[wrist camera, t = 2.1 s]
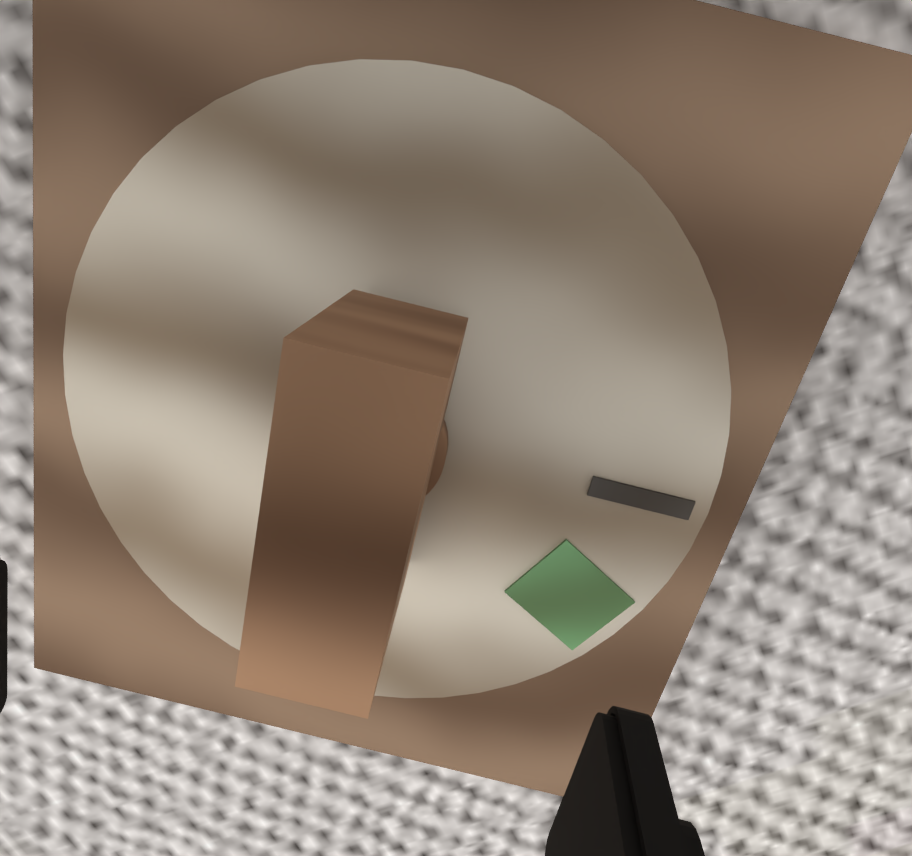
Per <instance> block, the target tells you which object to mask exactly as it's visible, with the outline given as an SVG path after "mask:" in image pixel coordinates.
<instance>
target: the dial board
mask: <svg viewBox="0 0 912 856" xmlns="http://www.w3.org/2000/svg"><path fill="white" fill-rule="evenodd" d="M911 132H912V55H910V54H906V53H902V52H898V51H894V50H890V49H886V48H882V47H878V46H874V45H870V44H866V43H862V42H858V41H854V40H850V39H846V38H842V37H839V36H835V35H831V34H827V33H823V32H819V31H815V30H811V29H807V28H803V27H799V26H795V25H791V24H787V23H783V22H779V21H775V20H771V19H768V18H764V17H760V16H756V15H752V14H748V13H744V12H740V11H736V10H732V9H728V8H724V7H720V6H716V5H712V4H708V3H704V2H700V1H696V0H33V340H34V668H37V669H41V670H45V671H50V672H54V673H58V674H62V675H66V676H70V677H74V678H78V679H82V680H87V681H91V682H95V683H99V684H103V685H107V686H111V687H115V688H119V689H124V690H128V691H132V692H136V693H140V694H144V695H148V696H152V697H156V698H160V699H165V700H169V701H173V702H177V703H181V704H185V705H189V706H193V707H197V708H202V709H206V710H210V711H214V712H218V713H222V714H226V715H230V716H234V717H239V718H243V719H247V720H251V721H255V722H259V723H263V724H267V725H271V726H276V727H280V728H284V729H288V730H292V731H296V732H300V733H304V734H308V735H313V736H317V737H321V738H325V739H329V740H333V741H337V742H341V743H345V744H350V745H354V746H358V747H362V748H366V749H370V750H374V751H378V752H382V753H387V754H391V755H395V756H399V757H403V758H407V759H411V760H415V761H419V762H424V763H428V764H432V765H436V766H440V767H444V768H448V769H452V770H456V771H461V772H465V773H469V774H473V775H477V776H481V777H485V778H489V779H493V780H498V781H502V782H506V783H510V784H514V785H518V786H522V787H526V788H530V789H535V790H539V791H543V792H547V793H551V794H555V795H559V796H564V794H565V791H566V789H567V786H568V784H569V781H570V778H571V776H572V773H573V771H574V768H575V766H576V763H577V761H578V758H579V755H580V753H581V750H582V748H583V745H584V743H585V740H586V737H587V735H588V732H589V730H590V727H591V725H592V722H593V719H594V717H595V715H596V714H597V713H598V712H600V713H604V714H607V712H608V710H609V709H610V708H611V707H612V706H617V707H621V708H625V709H629V710H633V711H637V712H641V713H645V714H648V715H649V716H651V717H652V715H653V712H654V710H655V708H656V706H657V703H658V701H659V699H660V697H661V694H662V692H663V690H664V688H665V685H666V683H667V681H668V679H669V676H670V674H671V672H672V670H673V667H674V665H675V663H676V661H677V658H678V656H679V654H680V652H681V649H682V647H683V645H684V643H685V640H686V638H687V636H688V634H689V631H690V629H691V627H692V625H693V622H694V620H695V618H696V616H697V613H698V611H699V609H700V607H701V604H702V602H703V600H704V598H705V595H706V593H707V591H708V589H709V586H710V584H711V582H712V580H713V577H714V575H715V573H716V571H717V568H718V566H719V564H720V562H721V559H722V557H723V555H724V553H725V550H726V548H727V546H728V544H729V541H730V539H731V537H732V535H733V532H734V530H735V528H736V526H737V524H738V521H739V519H740V517H741V515H742V512H743V510H744V508H745V506H746V503H747V501H748V499H749V497H750V494H751V492H752V490H753V488H754V485H755V483H756V481H757V479H758V476H759V474H760V472H761V470H762V467H763V465H764V463H765V461H766V458H767V456H768V454H769V452H770V449H771V447H772V445H773V443H774V440H775V438H776V436H777V434H778V431H779V429H780V427H781V425H782V422H783V420H784V418H785V416H786V413H787V411H788V409H789V407H790V404H791V402H792V400H793V398H794V395H795V393H796V391H797V389H798V386H799V384H800V382H801V380H802V377H803V375H804V373H805V371H806V368H807V366H808V364H809V362H810V359H811V357H812V355H813V353H814V350H815V348H816V346H817V344H818V341H819V339H820V337H821V335H822V332H823V330H824V328H825V326H826V323H827V321H828V319H829V317H830V314H831V312H832V310H833V308H834V305H835V303H836V301H837V299H838V296H839V294H840V292H841V290H842V287H843V285H844V283H845V281H846V278H847V276H848V274H849V272H850V269H851V267H852V265H853V263H854V261H855V258H856V256H857V254H858V252H859V249H860V247H861V245H862V243H863V240H864V238H865V236H866V234H867V231H868V229H869V227H870V225H871V222H872V220H873V218H874V216H875V213H876V211H877V209H878V207H879V204H880V202H881V200H882V198H883V195H884V193H885V191H886V189H887V186H888V184H889V182H890V180H891V177H892V175H893V173H894V171H895V168H896V166H897V164H898V162H899V159H900V157H901V155H902V153H903V150H904V148H905V146H906V144H907V141H908V139H909V137H910V135H911ZM353 289H355V290H359V291H363V292H367V293H371V294H375V295H379V296H383V297H387V298H391V299H395V300H399V301H403V302H407V303H411V304H415V305H419V306H423V307H427V308H431V309H435V310H439V311H443V312H447V313H451V314H455V315H459V316H463V317H467V318H468V323H467V327H466V331H465V335H464V339H463V343H462V347H461V351H460V356H459V360H458V364H457V368H456V372H455V376H454V380H453V384H452V389H451V393H450V397H449V401H448V405H447V409H446V413H445V417H444V420H445V422H446V426H447V430H448V450H447V455H446V460H445V464H444V468H443V471H442V474H441V476H440V478H439V480H438V482H437V483H436V485H435V486H434V488H433V489H432V490H431V491H430V492H429V493H428V494H427V495H426V496H425V500H424V504H423V508H422V512H421V517H420V521H419V525H418V529H417V533H416V537H415V541H414V545H413V550H412V554H411V558H410V562H409V566H408V570H407V574H406V578H405V582H404V586H403V590H402V593H401V597H400V601H399V605H398V608H397V612H396V616H395V620H394V623H393V627H392V631H391V635H390V638H389V642H388V646H387V649H386V653H385V657H384V661H383V664H382V668H381V672H380V676H379V679H378V683H377V687H376V691H375V694H374V698H373V702H372V706H371V709H370V713H369V717H368V719H366V718H362V717H358V716H354V715H349V714H345V713H341V712H337V711H333V710H329V709H325V708H321V707H317V706H312V705H308V704H304V703H300V702H296V701H292V700H288V699H284V698H280V697H276V696H271V695H267V694H263V693H259V692H255V691H251V690H247V689H243V688H239V687H235V681H236V674H237V667H238V659H239V652H240V645H241V638H242V631H243V624H244V616H245V609H246V602H247V595H248V588H249V581H250V574H251V566H252V559H253V552H254V545H255V538H256V531H257V523H258V516H259V509H260V502H261V495H262V488H263V480H264V473H265V466H266V459H267V452H268V445H269V438H270V430H271V423H272V416H273V409H274V402H275V395H276V387H277V380H278V373H279V366H280V359H281V352H282V344H283V338H284V337H285V336H287V335H288V334H290V333H291V332H292V331H294V330H295V329H297V328H298V327H300V326H301V325H303V324H304V323H305V322H307V321H308V320H310V319H311V318H313V317H314V316H316V315H317V314H318V313H320V312H321V311H323V310H324V309H326V308H327V307H329V306H330V305H331V304H333V303H334V302H336V301H337V300H339V299H340V298H342V297H343V296H344V295H346V294H347V293H349V292H350V291H352V290H353Z"/></svg>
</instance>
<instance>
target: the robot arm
mask: <svg viewBox="0 0 912 856" xmlns="http://www.w3.org/2000/svg"><path fill="white" fill-rule="evenodd" d="M6 699H7V564H6V563H5V561H3V560H0V713H1V711H2V709H3V707H4V705H5V702H6ZM545 856H705V855H704V851H703V848H702V844H701V841H700V838H699V836H698V833H697V831H696V828H695V827H694V826H693V825H692V824H691V822H688V821H684V820H680V819H678V815H677V811H676V808H675V804H674V800H673V796H672V792H671V788H670V785H669V781H668V777H667V773H666V769H665V765H664V762H663V758H662V754H661V750H660V746H659V743H658V739H657V735H656V731H655V727H654V723H653V721H652V718H651V716H649V715H648V714H645V713H641V712H637V711H633V710H629V709H625V708H621V707H617V706H612V707H611V708H610V709H609V710H608V712H607V714H604V713H600V712H598V713H597V714H596V715H595V717H594V719H593V722H592V725H591V727H590V730H589V732H588V735H587V737H586V740H585V743H584V745H583V748H582V750H581V753H580V755H579V758H578V761H577V763H576V766H575V768H574V771H573V773H572V776H571V778H570V781H569V784H568V786H567V789H566V791H565V794H564V796H563V799H562V802H561V804H560V807H559V809H558V812H557V814H556V817H555V820H554V822H553V825H552V827H551V830H550V832H549V836H548V839H547V844H546V851H545Z"/></svg>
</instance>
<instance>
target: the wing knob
mask: <svg viewBox="0 0 912 856" xmlns="http://www.w3.org/2000/svg"><path fill="white" fill-rule="evenodd" d="M467 323H468V318H467V317H463V316H459V315H455V314H451V313H447V312H443V311H439V310H435V309H431V308H427V307H423V306H419V305H415V304H411V303H407V302H403V301H399V300H395V299H391V298H387V297H383V296H379V295H375V294H371V293H367V292H363V291H359V290H355V289H353V290H352V291H350V292H349V293H347V294H346V295H344V296H343V297H342V298H340V299H339V300H337V301H336V302H334V303H333V304H331V305H330V306H329V307H327V308H326V309H324V310H323V311H321V312H320V313H318V314H317V315H316V316H314V317H313V318H311V319H310V320H308V321H307V322H305V323H304V324H303V325H301V326H300V327H298V328H297V329H295V330H294V331H292V332H291V333H290V334H288V335H287V336H285V337H284V338H283V344H282V352H281V359H280V366H279V373H278V380H277V387H276V395H275V402H274V409H273V416H272V423H271V430H270V438H269V445H268V452H267V459H266V466H265V473H264V480H263V488H262V495H261V502H260V509H259V516H258V523H257V531H256V538H255V545H254V552H253V559H252V566H251V574H250V581H249V588H248V595H247V602H246V609H245V616H244V624H243V631H242V638H241V645H240V652H239V659H238V667H237V674H236V681H235V687H239V688H243V689H247V690H251V691H255V692H259V693H263V694H267V695H271V696H276V697H280V698H284V699H288V700H292V701H296V702H300V703H304V704H308V705H312V706H317V707H321V708H325V709H329V710H333V711H337V712H341V713H345V714H349V715H354V716H358V717H362V718H366V719H368V717H369V713H370V709H371V706H372V702H373V698H374V694H375V691H376V687H377V683H378V679H379V676H380V672H381V668H382V664H383V661H384V657H385V653H386V649H387V646H388V642H389V638H390V635H391V631H392V627H393V623H394V620H395V616H396V612H397V608H398V605H399V601H400V597H401V593H402V590H403V586H404V582H405V578H406V574H407V570H408V566H409V562H410V558H411V554H412V550H413V545H414V541H415V537H416V533H417V529H418V525H419V521H420V517H421V512H422V508H423V504H424V500H425V496H426V495H427V494H428V493H429V492H430V491H431V490H432V489H433V488H434V486H435V485H436V483H437V482H438V480H439V478H440V476H441V474H442V471H443V468H444V464H445V460H446V455H447V450H448V430H447V426H446V422H445V420H444V417H445V413H446V409H447V405H448V401H449V397H450V393H451V389H452V384H453V380H454V376H455V372H456V368H457V364H458V360H459V356H460V351H461V347H462V343H463V339H464V335H465V331H466V327H467Z"/></svg>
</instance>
